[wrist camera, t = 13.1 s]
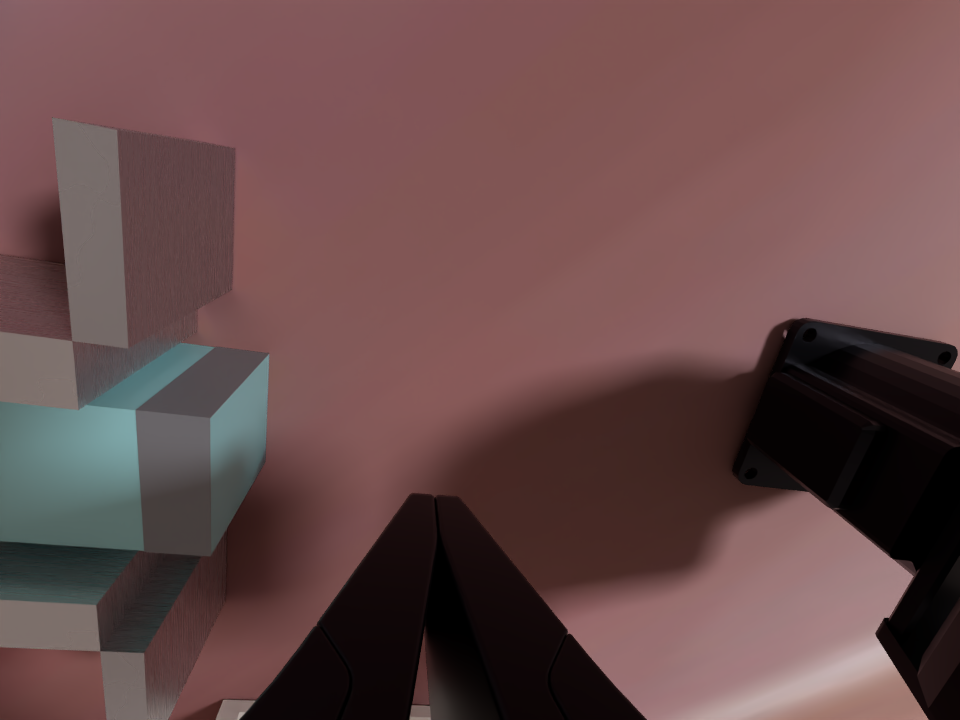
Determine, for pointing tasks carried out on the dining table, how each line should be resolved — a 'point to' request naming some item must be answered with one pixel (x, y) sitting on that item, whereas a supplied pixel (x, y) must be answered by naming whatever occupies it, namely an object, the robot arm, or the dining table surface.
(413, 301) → the dining table surface
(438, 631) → the robot arm
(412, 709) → the white flat channel piece
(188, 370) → the plug
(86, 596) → the bracket
